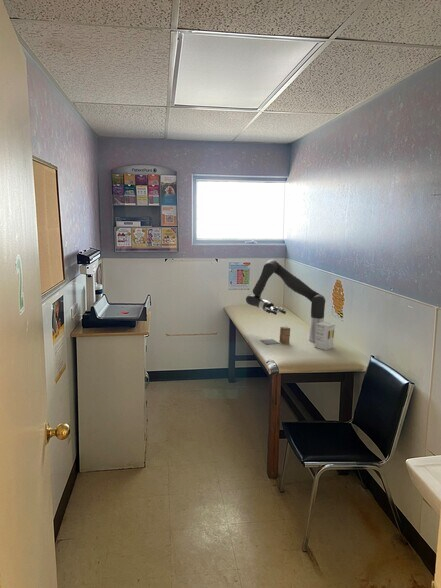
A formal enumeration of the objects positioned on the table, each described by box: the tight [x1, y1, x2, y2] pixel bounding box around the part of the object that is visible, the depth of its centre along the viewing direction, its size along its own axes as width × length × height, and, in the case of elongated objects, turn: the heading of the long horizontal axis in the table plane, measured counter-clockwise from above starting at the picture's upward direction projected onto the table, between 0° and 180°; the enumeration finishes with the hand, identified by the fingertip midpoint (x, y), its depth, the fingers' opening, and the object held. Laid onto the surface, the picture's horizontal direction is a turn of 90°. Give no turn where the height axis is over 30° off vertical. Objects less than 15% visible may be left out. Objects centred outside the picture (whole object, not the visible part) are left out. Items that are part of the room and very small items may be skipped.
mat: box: [260, 338, 280, 345], centre depth 306 cm, size 10×10×1 cm
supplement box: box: [314, 321, 336, 351], centre depth 297 cm, size 10×9×17 cm
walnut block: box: [279, 326, 291, 345], centre depth 306 cm, size 5×5×11 cm
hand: (281, 313), depth 308 cm, fingers open, 8 cm apart
